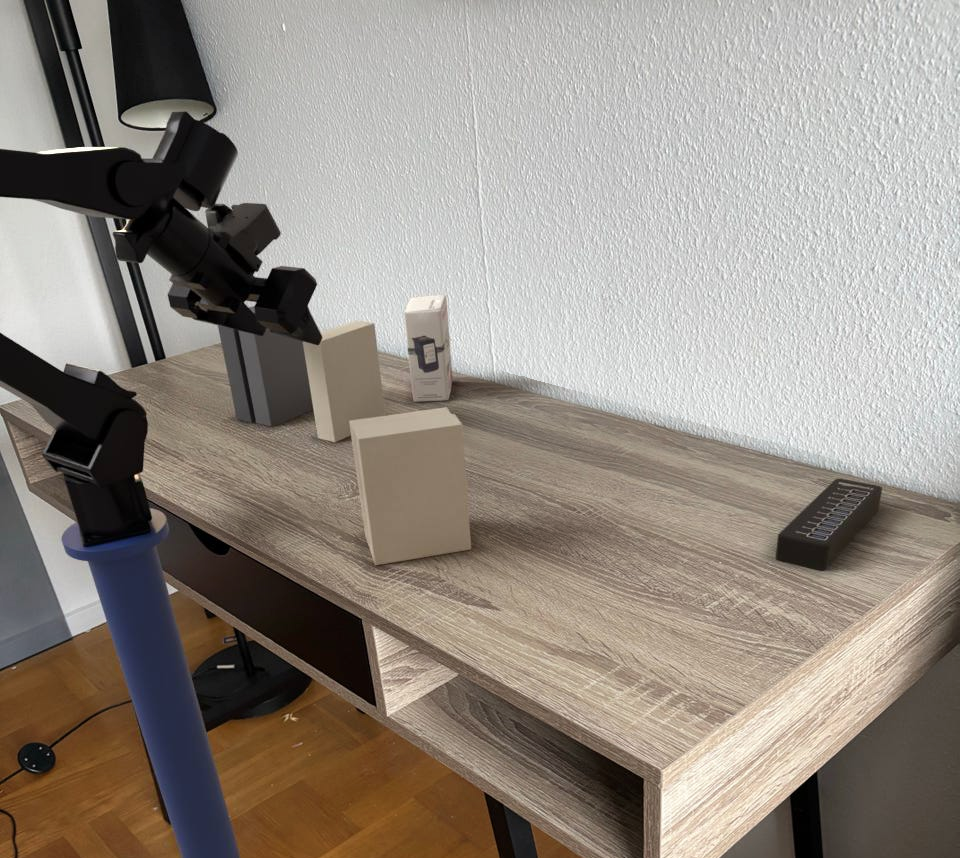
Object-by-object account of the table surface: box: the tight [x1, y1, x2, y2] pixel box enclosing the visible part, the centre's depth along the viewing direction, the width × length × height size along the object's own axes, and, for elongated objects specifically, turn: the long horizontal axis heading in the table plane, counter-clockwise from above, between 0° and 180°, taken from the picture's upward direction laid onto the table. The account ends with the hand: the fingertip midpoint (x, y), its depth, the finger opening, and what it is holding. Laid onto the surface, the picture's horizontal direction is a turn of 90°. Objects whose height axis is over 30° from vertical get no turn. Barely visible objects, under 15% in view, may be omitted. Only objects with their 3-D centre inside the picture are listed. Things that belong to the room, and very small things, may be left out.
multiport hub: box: [775, 478, 883, 571], centre depth 85 cm, size 4×14×2 cm, turn 143°
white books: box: [349, 406, 472, 566], centre depth 86 cm, size 9×6×12 cm
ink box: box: [403, 294, 454, 403], centre depth 125 cm, size 8×5×12 cm, turn 178°
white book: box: [303, 320, 386, 443], centre depth 114 cm, size 9×3×12 cm, turn 142°
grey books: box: [217, 305, 314, 427], centre depth 121 cm, size 10×6×13 cm
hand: (291, 336), depth 105 cm, fingers open, 9 cm apart
